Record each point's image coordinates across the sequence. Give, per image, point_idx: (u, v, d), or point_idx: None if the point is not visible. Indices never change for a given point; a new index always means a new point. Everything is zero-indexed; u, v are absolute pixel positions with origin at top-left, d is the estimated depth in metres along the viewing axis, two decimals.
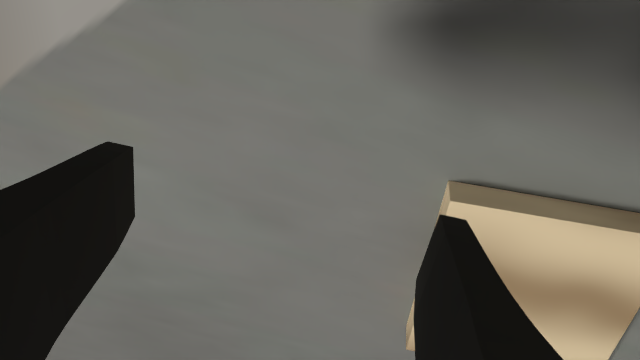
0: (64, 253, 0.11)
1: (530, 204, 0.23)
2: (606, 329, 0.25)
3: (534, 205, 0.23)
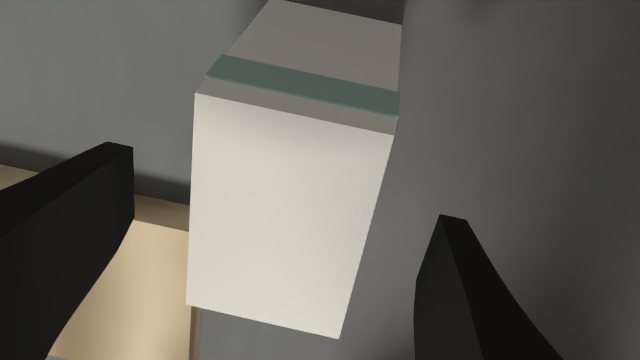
0: (64, 253, 0.11)
1: None
2: None
3: None
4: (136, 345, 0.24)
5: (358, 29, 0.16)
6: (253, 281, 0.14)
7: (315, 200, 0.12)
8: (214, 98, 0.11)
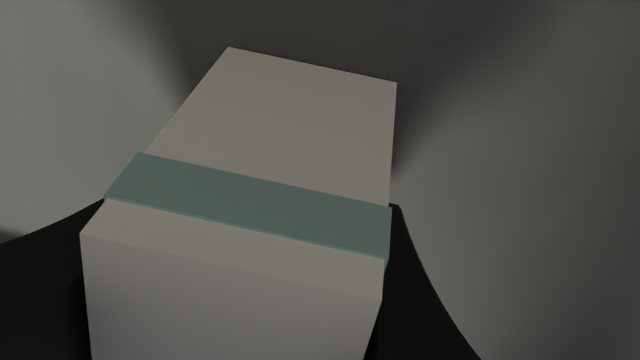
0: None
1: None
2: None
3: None
4: None
5: (339, 92, 0.12)
6: None
7: None
8: (108, 242, 0.07)
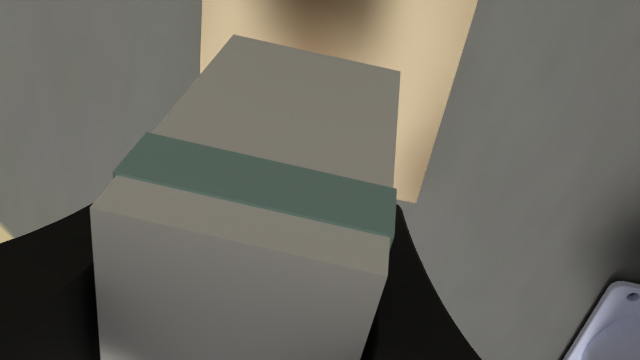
0: None
1: None
2: None
3: None
4: None
5: (344, 80, 0.12)
6: None
7: (274, 349, 0.08)
8: (118, 216, 0.07)
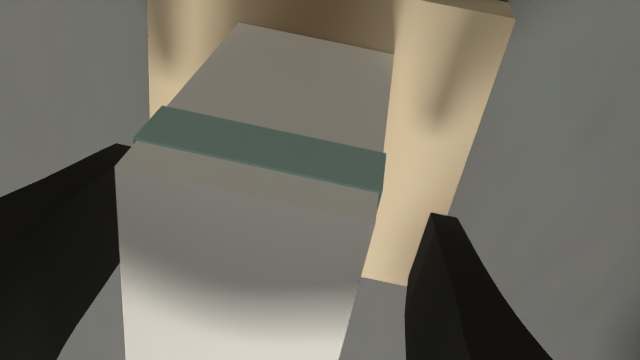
0: (74, 255, 0.11)
1: None
2: (357, 20, 0.14)
3: None
4: None
5: (340, 62, 0.13)
6: None
7: (277, 295, 0.09)
8: (139, 173, 0.08)
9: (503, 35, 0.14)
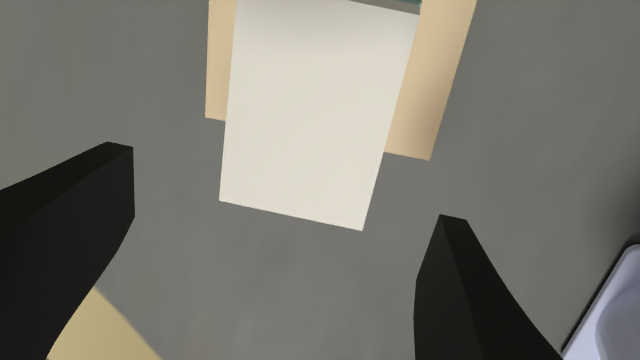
0: (64, 253, 0.11)
1: None
2: None
3: None
4: None
5: None
6: (284, 172, 0.15)
7: (345, 85, 0.13)
8: None
9: None
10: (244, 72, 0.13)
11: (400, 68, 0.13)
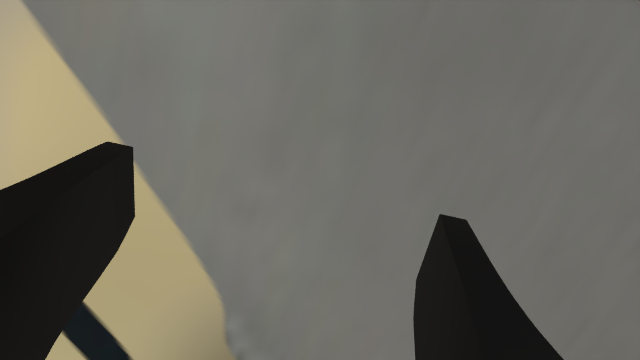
0: (64, 253, 0.11)
1: None
2: None
3: None
4: None
5: None
6: None
7: None
8: None
9: None
10: None
11: None
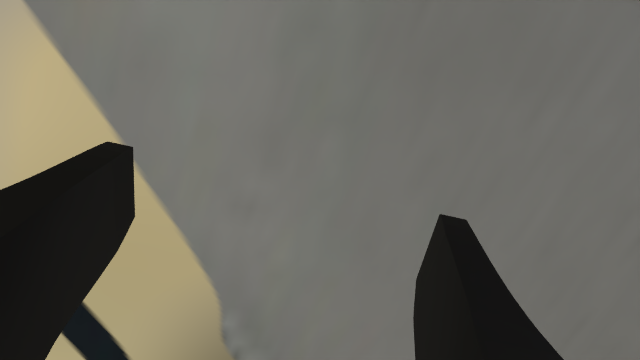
0: (64, 253, 0.11)
1: None
2: None
3: None
4: None
5: None
6: None
7: None
8: None
9: None
10: None
11: None
